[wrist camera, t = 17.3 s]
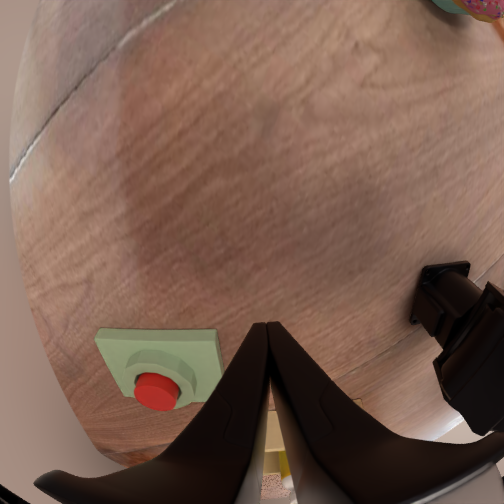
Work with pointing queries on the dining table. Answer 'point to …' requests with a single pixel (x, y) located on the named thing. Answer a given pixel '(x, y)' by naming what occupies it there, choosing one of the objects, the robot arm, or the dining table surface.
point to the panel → (164, 359)
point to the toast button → (156, 391)
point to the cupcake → (474, 8)
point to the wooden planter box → (277, 443)
